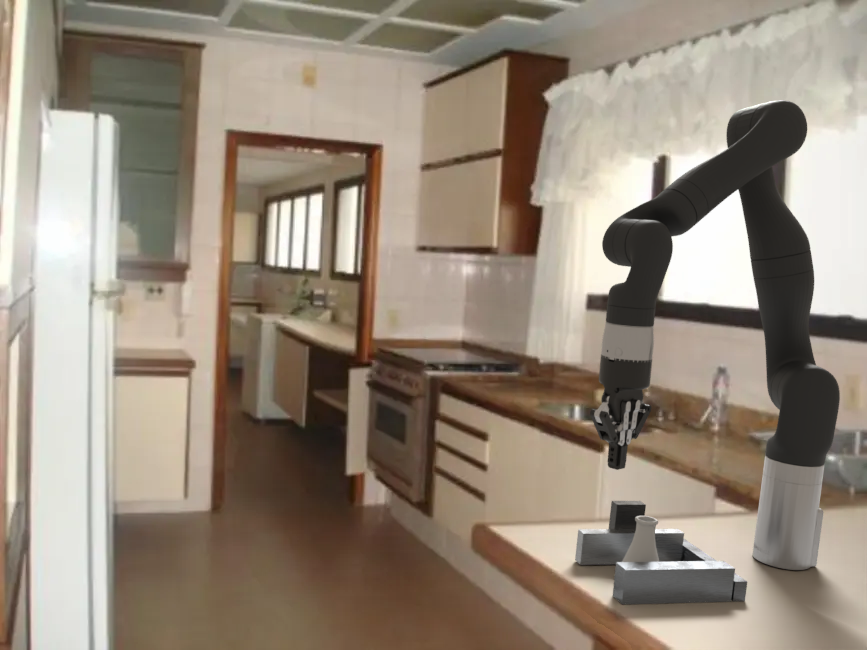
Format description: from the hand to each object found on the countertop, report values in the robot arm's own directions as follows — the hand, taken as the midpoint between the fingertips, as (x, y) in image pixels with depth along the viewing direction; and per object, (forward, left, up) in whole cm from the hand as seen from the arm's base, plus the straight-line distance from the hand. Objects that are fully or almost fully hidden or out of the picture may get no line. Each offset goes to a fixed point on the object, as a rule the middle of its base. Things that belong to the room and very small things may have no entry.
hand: (616, 467), depth 143 cm
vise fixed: (-7, +2, -16) cm, 18 cm away
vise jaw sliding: (-6, -4, -16) cm, 18 cm away
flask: (-4, +4, -17) cm, 18 cm away
